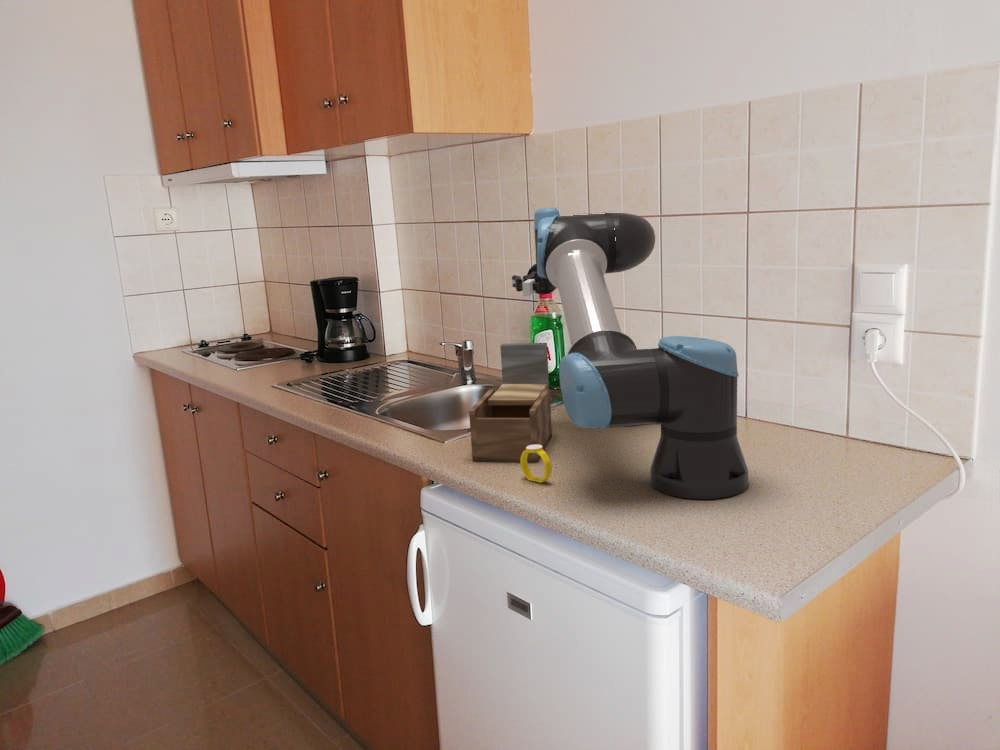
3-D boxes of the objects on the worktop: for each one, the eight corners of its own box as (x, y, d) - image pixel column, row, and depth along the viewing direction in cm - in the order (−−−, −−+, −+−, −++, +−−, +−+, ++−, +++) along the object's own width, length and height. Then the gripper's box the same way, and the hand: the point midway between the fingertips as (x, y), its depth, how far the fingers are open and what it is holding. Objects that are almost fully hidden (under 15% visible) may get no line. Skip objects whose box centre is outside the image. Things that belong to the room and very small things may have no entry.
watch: (555, 482, 130) (554, 447, 129) (544, 487, 128) (542, 452, 127) (529, 474, 134) (527, 441, 133) (518, 479, 132) (516, 445, 131)
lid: (536, 405, 147) (533, 357, 145) (488, 405, 149) (485, 358, 147) (549, 386, 161) (546, 342, 159) (505, 386, 163) (502, 343, 161)
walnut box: (537, 462, 140) (535, 410, 138) (472, 461, 143) (469, 410, 141) (551, 435, 155) (549, 388, 153) (492, 435, 158) (489, 389, 156)
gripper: (573, 291, 184) (558, 306, 162) (518, 293, 187) (496, 308, 165) (572, 259, 183) (556, 269, 160) (517, 262, 186) (494, 272, 163)
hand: (526, 289), depth 163 cm, fingers closed
